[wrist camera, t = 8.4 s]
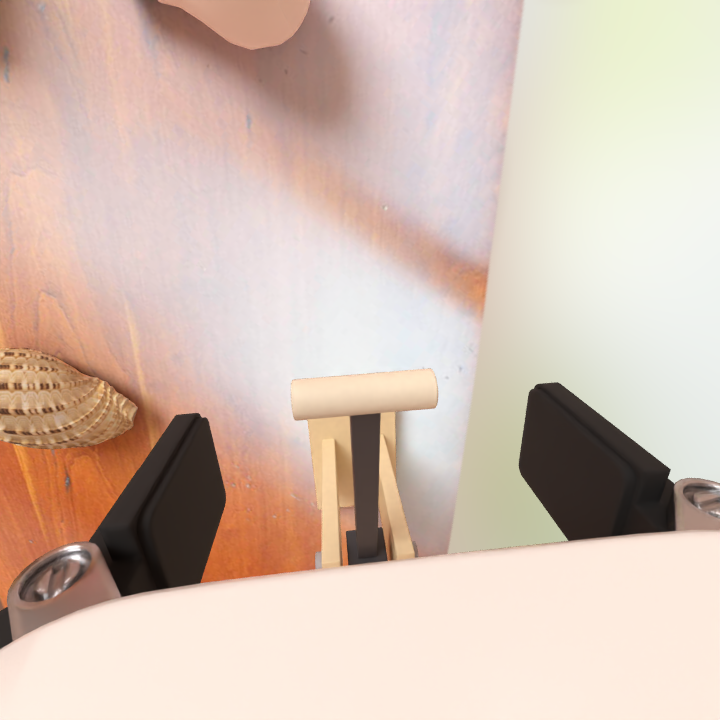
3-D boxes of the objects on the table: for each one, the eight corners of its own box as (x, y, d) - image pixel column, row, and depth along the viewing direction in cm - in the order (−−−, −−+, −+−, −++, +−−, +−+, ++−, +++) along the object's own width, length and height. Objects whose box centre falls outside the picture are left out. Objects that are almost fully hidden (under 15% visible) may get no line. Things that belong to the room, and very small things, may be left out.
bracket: (306, 402, 31) (296, 524, 19) (392, 395, 31) (434, 510, 19) (318, 500, 34) (315, 653, 23) (394, 492, 35) (430, 638, 23)
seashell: (129, 332, 30) (-47, 341, 25) (132, 360, 25) (-84, 377, 20) (139, 417, 33) (-19, 440, 28) (143, 456, 28) (-46, 493, 23)
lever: (292, 362, 14) (289, 411, 12) (427, 351, 14) (444, 398, 12) (326, 553, 24) (327, 595, 22) (403, 545, 25) (410, 585, 23)
